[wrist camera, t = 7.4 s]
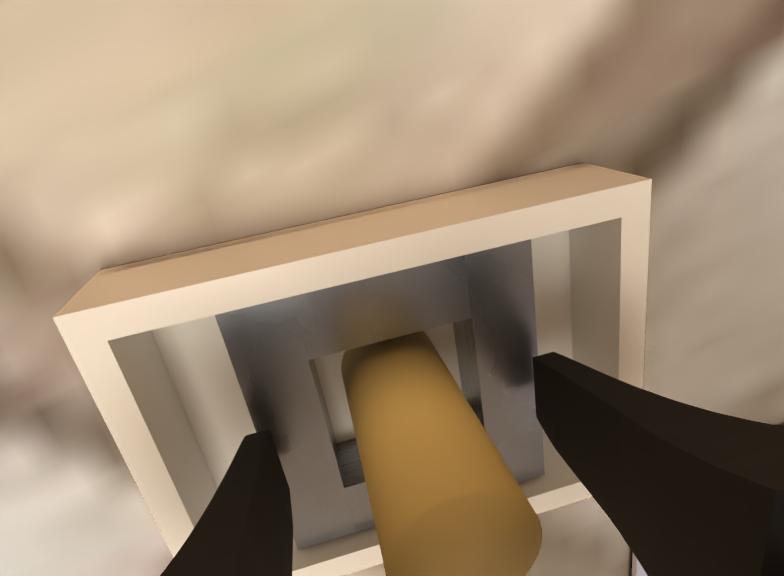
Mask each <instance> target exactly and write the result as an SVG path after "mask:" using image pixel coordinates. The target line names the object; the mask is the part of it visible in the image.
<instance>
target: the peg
mask: <svg viewBox="0 0 784 576" xmlns="http://www.w3.org/2000/svg"><path fill="white" fill-rule="evenodd" d="M341 373H342V378H343V382H344V387H345V391H346V396H347V400H348V405H349V409H350V414H351V418H352V423H353V428H354V432H355V437H356V441H357V446H358V450H359V455H360V459H361V464H362V468H363V473H364V477H365V482H366V486H367V491H368V495H369V500H370V504H371V509H372V513H373V518H374V522H375V527H376V532H377V536H378V541H379V545H380V550H381V554H382V559H383V563H384V568H385V572H386V576H525V575H526V573H527V572H528V571H529V569H530V568H531V567H532V565H533V563H534V561H535V560H536V557H537V555H538V553H539V550H540V546H541V541H542V528H541V524H540V520H539V518H538V516H537V514H536V512H535V511H534V509H533V507H532V506H531V504H530V503H529V501H528V499H527V498H526V496H525V494H524V493H523V491H522V489H521V488H520V486H519V484H518V483H517V481H516V480H515V478H514V476H513V475H512V473H511V471H510V470H509V468H508V466H507V465H506V463H505V461H504V460H503V458H502V457H501V455H500V453H499V452H498V450H497V448H496V447H495V445H494V443H493V442H492V440H491V438H490V437H489V435H488V434H487V432H486V430H485V429H484V427H483V425H482V424H481V422H480V420H479V419H478V417H477V416H476V414H475V412H474V411H473V409H472V407H471V406H470V404H469V402H468V401H467V399H466V397H465V396H464V394H463V393H462V391H461V389H460V388H459V386H458V384H457V383H456V381H455V379H454V378H453V376H452V374H451V373H450V371H449V370H448V368H447V366H446V365H445V363H444V361H443V360H442V358H441V356H440V355H439V353H438V351H437V350H436V348H435V347H434V345H433V343H432V342H431V340H430V339H429V337H428V336H427V335H426V333H425V332H424V331H419V332H415V333H412V334H408V335H404V336H400V337H396V338H392V339H388V340H384V341H381V342H377V343H373V344H369V345H365V346H361V347H357V348H353V349H349V350H346V351H345V352H344V355H343V358H342V363H341Z"/></svg>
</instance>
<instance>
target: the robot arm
mask: <svg viewBox="0 0 784 576" xmlns="http://www.w3.org/2000/svg"><path fill="white" fill-rule="evenodd" d="M532 358H533V373H534V389H535V405H536V418H537V419H538V421H539V423H540V425H541V426H542V428H543V430H544V432H545V433H546V435H547V437H548V438H549V440H550V442H551V443H552V445H553V446H554V448H555V449H556V451H557V452H558V453H559V455H560V456H561V457H562V458H563V460H564V461H565V462H566V464H567V465H568V466H569V467H570V469H571V470H572V471H573V473H574V474H575V475H576V476H577V478H578V479H579V480H580V481H581V483H582V484H583V485H584V486H585V488H586V489H587V490H588V491H589V493H590V494H591V495H592V496H593V498H594V499H595V500H596V501H597V503H598V504H599V505H600V506H601V508H602V509H603V510H604V511H605V513H606V514H607V515H608V517H609V518H610V519H611V521H612V522H613V523H614V525H615V526H616V528H617V529H618V530H619V532H620V533H621V535H622V536H623V538H624V539H625V541H626V543H627V544H628V546H629V547H630V549H631V550H632V552H633V558H632V576H784V427H782V426H776V425H771V424H765V423H760V422H755V421H750V420H746V419H741V418H737V417H732V416H728V415H724V414H720V413H716V412H712V411H708V410H704V409H701V408H698V407H694V406H691V405H687V404H684V403H681V402H677V401H674V400H671V399H668V398H665V397H662V396H660V395H657V394H654V393H652V392H649V391H646V390H643V389H641V388H638V387H636V386H633V385H630V384H628V383H625V382H623V381H621V380H618V379H616V378H614V377H611V376H609V375H606V374H604V373H602V372H600V371H597V370H595V369H593V368H591V367H588V366H586V365H584V364H582V363H579V362H577V361H575V360H573V359H570V358H568V357H566V356H563V355H561V354H558V353H556V352H550V353H546V354H543V355H539V356H535V357H532ZM292 562H293V518H292V507H291V497H290V488H289V485H288V482H287V479H286V476H285V473H284V471H283V468H282V465H281V462H280V459H279V456H278V453H277V450H276V447H275V444H274V441H273V438H272V435H271V432H270V429H268V430H264V431H260V432H257V433H253V434H249V435H246V436H245V437H244V439H243V440H242V442H241V444H240V446H239V448H238V450H237V452H236V454H235V456H234V458H233V460H232V462H231V464H230V466H229V468H228V470H227V472H226V474H225V476H224V478H223V479H222V481H221V483H220V485H219V487H218V488H217V490H216V492H215V494H214V496H213V497H212V499H211V501H210V503H209V504H208V506H207V508H206V509H205V511H204V513H203V514H202V516H201V517H200V519H199V521H198V522H197V524H196V526H195V527H194V529H193V530H192V532H191V534H190V535H189V537H188V538H187V540H186V541H185V542H184V544H183V545H182V547H181V548H180V550H179V551H178V553H177V554H176V555H175V557H174V558H173V559H172V561H171V562H170V564H169V565H168V566H167V568H166V569H165V570H164V572H163V573H162V574H161V575H160V576H292Z"/></svg>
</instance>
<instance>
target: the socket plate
mask: <svg viewBox="0 0 784 576" xmlns="http://www.w3.org/2000/svg"><path fill="white" fill-rule="evenodd" d="M215 317H216V320H217V323H218V326H219V329H220V332H221V334H222V337H223V340H224V343H225V346H226V349H227V351H228V354H229V357H230V360H231V363H232V365H233V368H234V371H235V374H236V377H237V380H238V382H239V385H240V388H241V391H242V394H243V397H244V399H245V402H246V405H247V408H248V411H249V413H250V416H251V419H252V422H253V425H254V428H255V430H256V433H257V432H260V431H264V430H268V429H270V432H271V435H272V438H273V441H274V444H275V447H276V450H277V453H278V456H279V459H280V462H281V465H282V468H283V471H284V473H285V476H286V479H287V482H288V485H289V488H290V497H291V507H292V518H293V538H294V541H295V543H296V546H297V549H298V550H299V549H302V548H305V547H309V546H312V545H315V544H319V543H322V542H325V541H328V540H332V539H335V538H338V537H341V536H345V535H348V534H351V533H355V532H358V531H361V530H364V529H368V528H371V527H374V526H375V522H374V518H373V513H372V509H371V504H370V500H369V495H368V491H367V486H366V482H365V477H364V473H363V468H362V464H361V459H360V455H359V450H358V446H357V441H356V438H354V439H350V440H347V441H343V442H340V443H337V442H336V439H335V435H334V431H333V428H332V424H331V421H330V417H329V413H328V410H327V406H326V402H325V399H324V395H323V391H322V388H321V384H320V380H319V377H318V373H317V369H316V366H315V362H314V359H315V358H318V357H322V356H326V355H330V354H334V353H338V352H342V351H346V350H349V349H353V348H357V347H361V346H365V345H369V344H373V343H377V342H381V341H384V340H388V339H392V338H396V337H400V336H404V335H408V334H412V333H415V332H419V331H423V330H427V329H431V328H435V327H439V326H443V325H447V324H450V323H453V328H454V336H455V343H456V351H457V358H458V365H459V373H460V380H461V387H462V393H463V394H464V396H465V397H466V399H467V401H468V402H469V404H470V406H471V407H472V409H473V411H474V412H475V414H476V416H477V417H478V419H479V420H480V422H481V424H482V425H483V427H484V429H485V430H486V432H487V434H488V435H489V437H490V438H491V440H492V442H493V443H494V445H495V447H496V448H497V450H498V452H499V453H500V455H501V457H502V458H503V460H504V461H505V463H506V465H507V466H508V468H509V470H510V471H511V473H512V475H513V476H514V478H515V480H516V481H517V483H518V482H521V481H524V480H528V479H531V478H534V477H538V476H541V475H544V474H545V468H544V451H543V434H542V426H541V425H540V423H539V421H538V419H537V418H536V405H535V389H534V373H533V358H532V357H535V356H538V348H537V331H536V314H535V297H534V280H533V263H532V246H531V239H529V240H525V241H521V242H517V243H513V244H508V245H504V246H500V247H496V248H492V249H488V250H483V251H479V252H475V253H471V254H467V255H463V256H458V257H454V258H450V259H446V260H442V261H438V262H433V263H429V264H425V265H421V266H417V267H413V268H408V269H404V270H400V271H396V272H392V273H388V274H383V275H379V276H375V277H371V278H367V279H363V280H358V281H354V282H350V283H346V284H342V285H338V286H333V287H329V288H325V289H321V290H317V291H313V292H308V293H304V294H300V295H296V296H292V297H288V298H283V299H279V300H275V301H271V302H267V303H263V304H258V305H254V306H250V307H246V308H242V309H238V310H233V311H229V312H225V313H221V314H217V315H215Z"/></svg>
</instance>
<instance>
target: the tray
mask: <svg viewBox="0 0 784 576" xmlns="http://www.w3.org/2000/svg"><path fill="white" fill-rule="evenodd" d="M651 185H652V179H650V178H646V177H641V176H637V175H633V174H629V173H625V172H620V171H616V170H612V169H608V168H604V167H599V166H595V165H591V164H587V163H580V164H575V165H571V166H566V167H562V168H557V169H553V170H548V171H544V172H539V173H535V174H530V175H526V176H521V177H517V178H512V179H508V180H503V181H499V182H494V183H490V184H485V185H481V186H476V187H472V188H467V189H463V190H458V191H454V192H449V193H445V194H440V195H436V196H431V197H427V198H422V199H418V200H413V201H409V202H404V203H400V204H395V205H391V206H386V207H381V208H377V209H372V210H368V211H363V212H359V213H354V214H350V215H345V216H341V217H336V218H332V219H327V220H323V221H318V222H314V223H309V224H305V225H300V226H296V227H291V228H287V229H282V230H278V231H273V232H269V233H264V234H260V235H255V236H251V237H246V238H242V239H237V240H233V241H228V242H224V243H219V244H215V245H210V246H206V247H201V248H197V249H192V250H188V251H183V252H179V253H174V254H170V255H165V256H161V257H156V258H152V259H147V260H143V261H138V262H134V263H129V264H125V265H120V266H116V267H111V268H107V269H102V270H99V271H98V272H97V273H96V274H95V275H94V276H93V277H92V278H91V279H90V280H89V281H88V282H87V283H86V284H85V285H84V286H83V287H82V288H81V289H80V290H79V291H78V292H77V293H76V294H75V295H74V296H73V297H72V298H71V299H70V300H69V301H68V302H67V303H66V304H65V305H64V306H63V307H62V308H61V309H60V310H59V311H58V312H57V313H56V314H55V316H54V317H53V319H54V321H55V323H56V325H57V327H58V329H59V331H60V333H61V335H62V337H63V339H64V341H65V343H66V345H67V347H68V349H69V351H70V353H71V355H72V357H73V359H74V361H75V363H76V365H77V367H78V369H79V371H80V373H81V375H82V377H83V379H84V381H85V383H86V385H87V387H88V389H89V391H90V393H91V395H92V397H93V399H94V401H95V403H96V405H97V407H98V409H99V411H100V413H101V415H102V417H103V419H104V420H105V422H106V424H107V426H108V428H109V430H110V432H111V434H112V436H113V438H114V440H115V442H116V444H117V446H118V448H119V450H120V452H121V454H122V456H123V458H124V460H125V462H126V464H127V466H128V468H129V470H130V472H131V474H132V476H133V478H134V480H135V482H136V484H137V486H138V488H139V490H140V492H141V494H142V496H143V498H144V500H145V502H146V504H147V506H148V508H149V510H150V512H151V514H152V516H153V518H154V520H155V522H156V524H157V525H158V527H159V529H160V531H161V533H162V535H163V537H164V539H165V541H166V543H167V545H168V547H169V549H170V551H171V553H172V555H173V557H175V555H176V554H177V553H178V551H179V550H180V548H181V547H182V545H183V544H184V542H185V541H186V540H187V538H188V537H189V535H190V534H191V532H192V530H193V529H194V527H195V526H196V524H197V522H198V521H199V519H200V517H201V516H202V514H203V513H204V511H205V509H206V508H207V506H208V504H209V503H210V501H211V499H212V497H213V496H214V494H215V492H216V490H217V488H218V487H219V485H220V483H221V481H222V479H223V478H224V476H225V474H226V472H227V470H228V468H229V466H230V464H231V462H232V460H233V458H234V456H235V454H236V452H237V450H238V448H239V446H240V444H241V442H242V440H243V439H244V437H245V436H246V435H249V434H253V433H256V430H255V428H254V425H253V422H252V419H251V416H250V413H249V411H248V408H247V405H246V402H245V399H244V397H243V394H242V391H241V388H240V385H239V382H238V380H237V377H236V374H235V371H234V368H233V365H232V363H231V360H230V357H229V354H228V351H227V349H226V346H225V343H224V340H223V337H222V334H221V332H220V329H219V326H218V323H217V320H216V317H215V315H217V314H221V313H225V312H229V311H233V310H238V309H242V308H246V307H250V306H254V305H258V304H263V303H267V302H271V301H275V300H279V299H283V298H288V297H292V296H296V295H300V294H304V293H308V292H313V291H317V290H321V289H325V288H329V287H333V286H338V285H342V284H346V283H350V282H354V281H358V280H363V279H367V278H371V277H375V276H379V275H383V274H388V273H392V272H396V271H400V270H404V269H408V268H413V267H417V266H421V265H425V264H429V263H433V262H438V261H442V260H446V259H450V258H454V257H458V256H463V255H467V254H471V253H475V252H479V251H483V250H488V249H492V248H496V247H500V246H504V245H508V244H513V243H517V242H521V241H525V240H529V239H531V246H532V263H533V280H534V297H535V314H536V331H537V348H538V356H539V355H543V354H546V353H550V352H556V353H558V354H561V355H563V356H566V357H568V358H570V359H573V360H575V361H577V362H579V363H582V364H584V365H586V366H588V367H591V368H593V369H595V370H597V371H600V372H602V373H604V374H606V375H609V376H611V377H614V378H616V379H618V380H621V381H623V382H625V383H628V384H630V385H633V386H636V387H638V388H641V389H643V370H644V347H645V324H646V301H647V278H648V255H649V232H650V209H651ZM423 331H424V332H425V333H426V335H427V336H428V337H429V339H430V340H431V342H432V343H433V345H434V347H435V348H436V350H437V351H438V353H439V355H440V356H441V358H442V360H443V361H444V363H445V365H446V366H447V368H448V370H449V371H450V373H451V374H452V376H453V378H454V379H455V381H456V383H457V384H458V386H459V388H460V389H461V391H462V387H461V380H460V373H459V365H458V358H457V351H456V343H455V336H454V328H453V323H450V324H447V325H443V326H439V327H435V328H431V329H427V330H423ZM344 352H345V351H342V352H338V353H334V354H330V355H326V356H322V357H318V358H315V359H314V362H315V366H316V369H317V373H318V377H319V380H320V384H321V388H322V391H323V395H324V399H325V402H326V406H327V410H328V413H329V417H330V421H331V424H332V428H333V431H334V435H335V439H336V442H337V443H340V442H343V441H347V440H350V439H354V438H356V437H355V432H354V428H353V423H352V418H351V414H350V409H349V405H348V400H347V396H346V391H345V387H344V382H343V378H342V373H341V363H342V358H343V355H344ZM542 434H543V451H544V468H545V474H544V475H541V476H538V477H534V478H531V479H528V480H524V481H521V482H518V484H519V486H520V488H521V489H522V491H523V493H524V494H525V496H526V498H527V499H528V501H529V503H530V504H531V506H532V507H533V509H534V511H535V512H536V514H539V513H542V512H546V511H549V510H552V509H555V508H558V507H561V506H565V505H568V504H571V503H574V502H577V501H580V500H584V499H587V498H590V497H593V496H592V495H591V494H590V493H589V491H588V490H587V489H586V488H585V486H584V485H583V484H582V483H581V481H580V480H579V479H578V478H577V476H576V475H575V474H574V473H573V471H572V470H571V469H570V467H569V466H568V465H567V464H566V462H565V461H564V460H563V458H562V457H561V456H560V455H559V453H558V452H557V451H556V449H555V448H554V446H553V445H552V443H551V442H550V440H549V438H548V437H547V435H546V433H545V432H544V430H543V428H542ZM381 563H383V559H382V554H381V550H380V545H379V541H378V536H377V532H376V527H375V526H374V527H371V528H368V529H364V530H361V531H358V532H355V533H351V534H348V535H345V536H341V537H338V538H335V539H332V540H328V541H325V542H322V543H319V544H315V545H312V546H309V547H305V548H302V549H299V550H298V549H297V546H296V543H295V541H294V538H293V562H292V576H343V575H346V574H350V573H353V572H356V571H359V570H362V569H365V568H369V567H372V566H375V565H378V564H381Z"/></svg>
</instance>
